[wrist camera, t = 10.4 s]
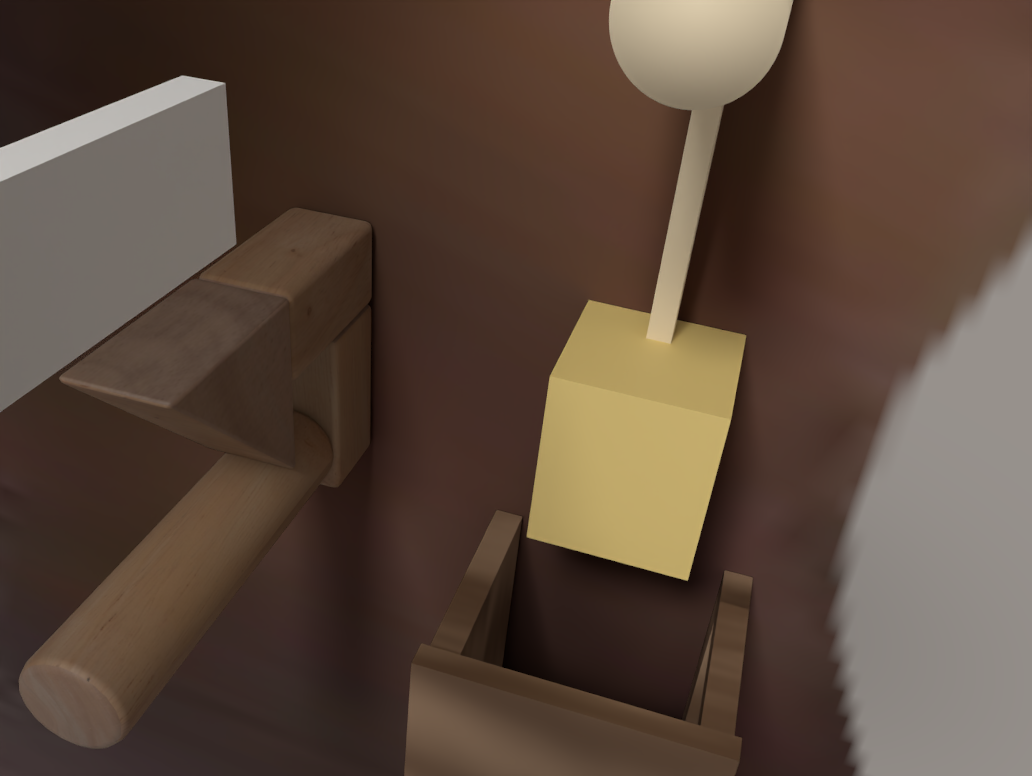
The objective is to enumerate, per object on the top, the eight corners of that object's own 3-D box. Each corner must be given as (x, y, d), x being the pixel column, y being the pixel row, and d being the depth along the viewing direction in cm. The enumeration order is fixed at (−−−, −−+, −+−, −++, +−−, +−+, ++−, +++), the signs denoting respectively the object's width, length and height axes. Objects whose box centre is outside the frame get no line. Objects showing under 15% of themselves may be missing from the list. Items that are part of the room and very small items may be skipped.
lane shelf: (493, 499, 44) (411, 663, 35) (760, 570, 41) (739, 761, 33) (470, 697, 50) (397, 872, 42) (698, 766, 48) (669, 965, 40)
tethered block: (658, -131, 30) (565, -97, 20) (861, -103, 29) (871, -51, 19) (564, 448, 41) (476, 653, 31) (706, 484, 40) (661, 709, 30)
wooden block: (376, 219, 38) (78, 484, 23) (374, 444, 44) (133, 772, 29) (289, 202, 39) (-53, 449, 24) (298, 426, 45) (26, 737, 30)
